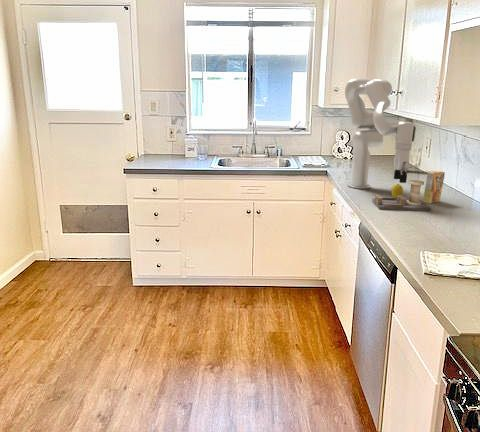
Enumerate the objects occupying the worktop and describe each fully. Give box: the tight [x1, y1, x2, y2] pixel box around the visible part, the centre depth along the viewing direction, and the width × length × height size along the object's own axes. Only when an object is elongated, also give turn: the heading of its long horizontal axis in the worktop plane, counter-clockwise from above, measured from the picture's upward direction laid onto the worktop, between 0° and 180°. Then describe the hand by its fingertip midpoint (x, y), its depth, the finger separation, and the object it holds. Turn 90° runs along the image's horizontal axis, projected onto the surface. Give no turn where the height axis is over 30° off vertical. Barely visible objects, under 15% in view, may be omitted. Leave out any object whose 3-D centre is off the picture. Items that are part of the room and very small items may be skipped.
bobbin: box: [406, 179, 425, 206], centre depth 220 cm, size 7×7×11 cm
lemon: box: [391, 183, 404, 200], centre depth 234 cm, size 6×6×8 cm
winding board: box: [371, 194, 432, 212], centre depth 222 cm, size 14×24×4 cm, turn 88°
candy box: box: [422, 170, 446, 204], centre depth 230 cm, size 9×4×15 cm, turn 123°
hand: (399, 180), depth 232 cm, fingers open, 9 cm apart
